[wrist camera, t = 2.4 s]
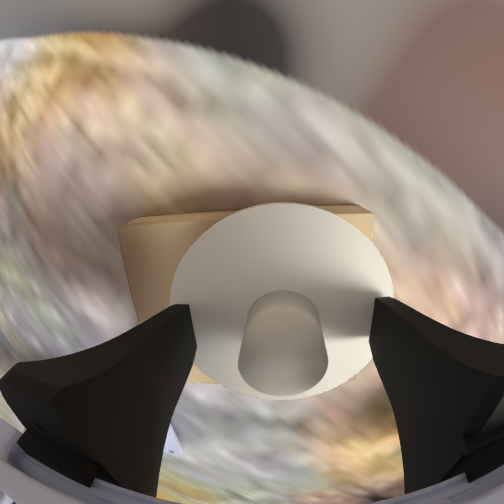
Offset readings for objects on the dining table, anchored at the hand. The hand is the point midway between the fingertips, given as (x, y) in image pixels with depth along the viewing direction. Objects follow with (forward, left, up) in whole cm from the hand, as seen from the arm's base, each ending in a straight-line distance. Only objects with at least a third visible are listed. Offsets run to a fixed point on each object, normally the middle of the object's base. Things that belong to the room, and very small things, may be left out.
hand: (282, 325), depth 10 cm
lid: (0, 0, -1) cm, 1 cm away
